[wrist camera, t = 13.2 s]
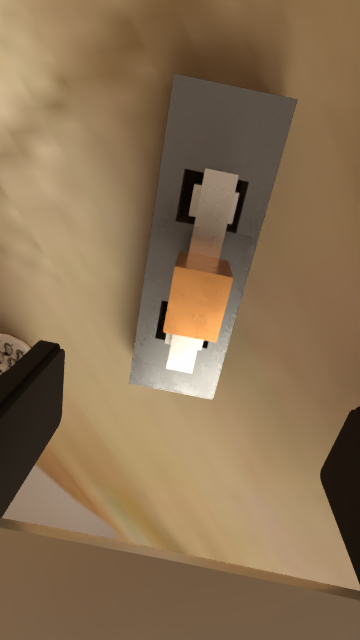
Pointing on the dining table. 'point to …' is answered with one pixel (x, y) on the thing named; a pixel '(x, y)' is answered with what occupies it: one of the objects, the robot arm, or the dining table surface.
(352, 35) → the dining table surface
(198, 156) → the grey block with holes
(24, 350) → the decorative candle
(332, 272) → the dining table surface
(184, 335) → the clip
